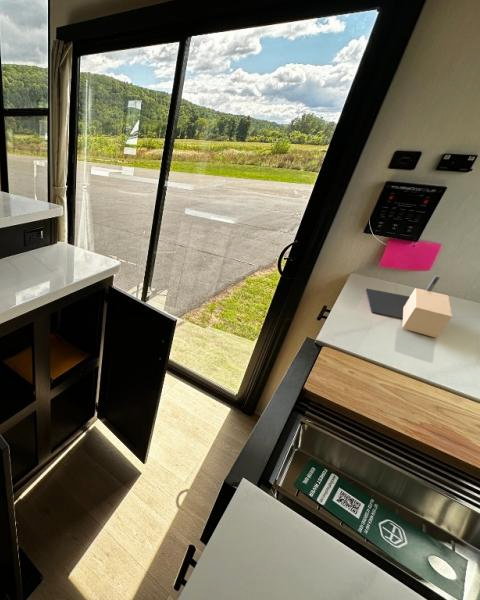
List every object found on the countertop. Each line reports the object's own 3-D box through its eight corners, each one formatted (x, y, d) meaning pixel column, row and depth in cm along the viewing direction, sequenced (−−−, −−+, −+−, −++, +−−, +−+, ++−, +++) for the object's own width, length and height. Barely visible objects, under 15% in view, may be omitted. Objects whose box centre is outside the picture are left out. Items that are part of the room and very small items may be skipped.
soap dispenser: (402, 328, 108) (403, 301, 122) (437, 338, 103) (434, 309, 117) (422, 296, 101) (421, 271, 115) (460, 305, 96) (455, 278, 110)
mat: (411, 298, 124) (411, 296, 124) (423, 324, 110) (423, 322, 110) (366, 289, 131) (366, 288, 131) (371, 312, 117) (372, 311, 116)
